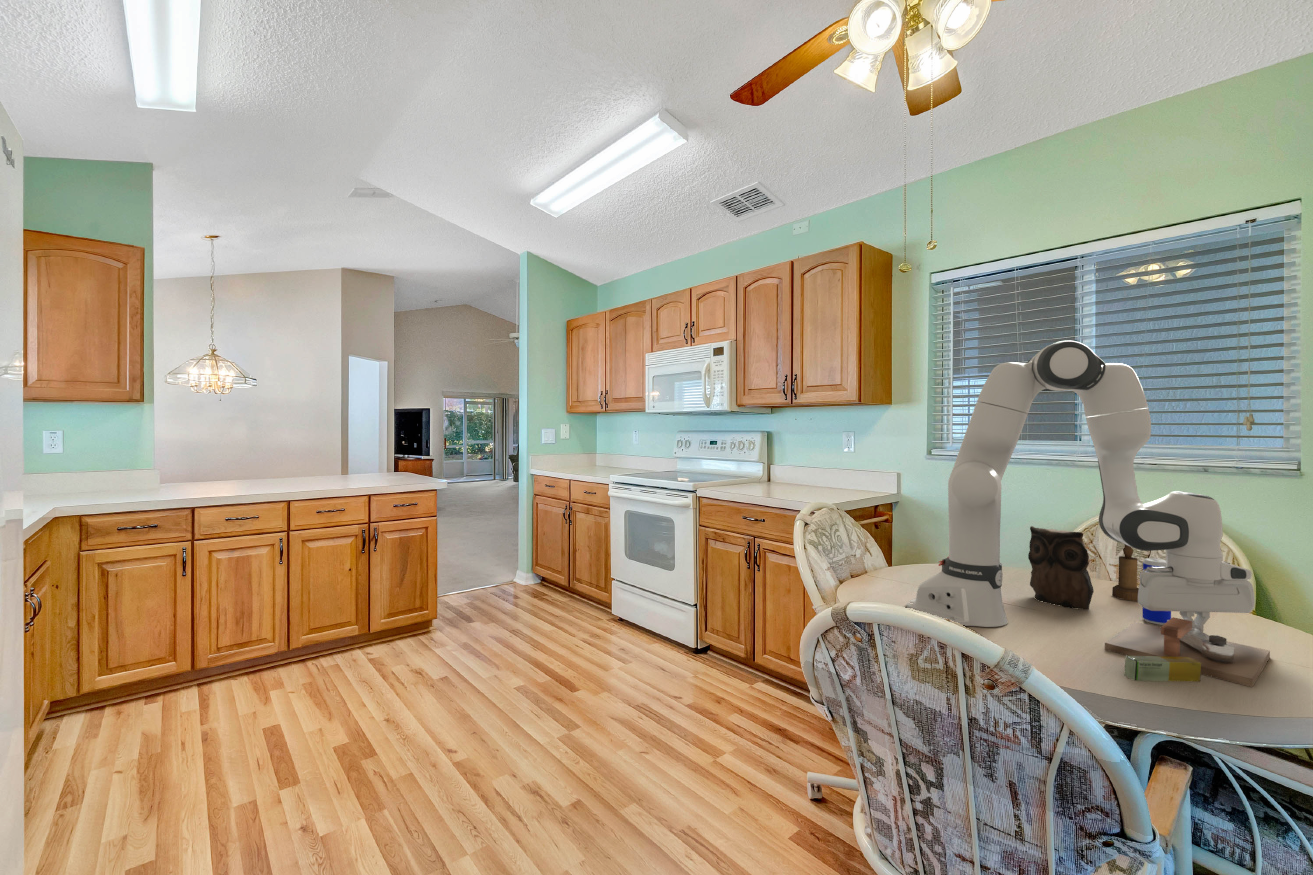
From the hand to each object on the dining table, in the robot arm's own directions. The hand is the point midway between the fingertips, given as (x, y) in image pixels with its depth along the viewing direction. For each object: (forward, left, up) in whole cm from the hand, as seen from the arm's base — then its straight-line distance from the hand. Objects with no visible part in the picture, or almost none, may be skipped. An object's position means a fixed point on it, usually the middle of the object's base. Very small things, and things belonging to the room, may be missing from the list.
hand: (1194, 631), depth 120 cm
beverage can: (-9, +13, -3) cm, 16 cm away
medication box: (0, -26, -4) cm, 26 cm away
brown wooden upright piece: (-19, +32, -3) cm, 37 cm away
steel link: (+1, -6, -1) cm, 6 cm away
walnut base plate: (0, -7, -3) cm, 8 cm away
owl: (-28, +14, -3) cm, 31 cm away
